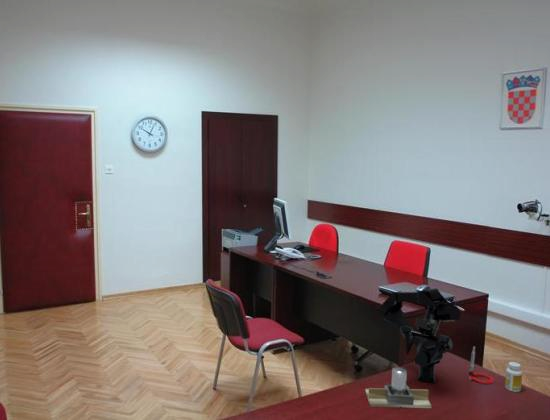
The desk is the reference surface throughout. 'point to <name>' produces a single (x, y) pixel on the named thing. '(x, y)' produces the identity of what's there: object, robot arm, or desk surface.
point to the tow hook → (472, 373)
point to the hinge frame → (398, 398)
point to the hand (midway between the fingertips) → (418, 357)
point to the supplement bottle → (513, 377)
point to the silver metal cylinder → (398, 381)
